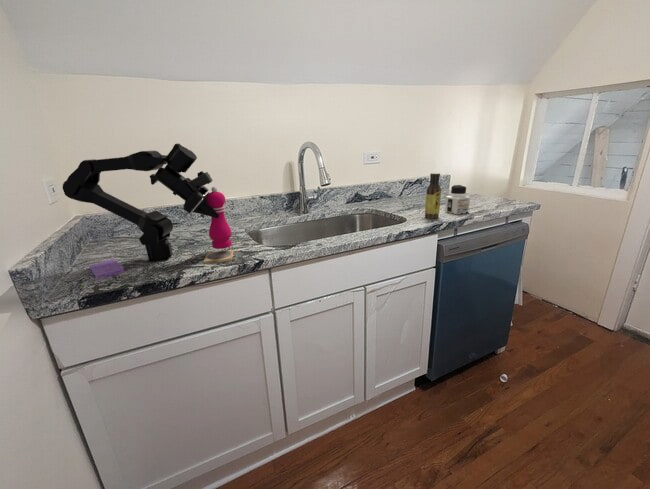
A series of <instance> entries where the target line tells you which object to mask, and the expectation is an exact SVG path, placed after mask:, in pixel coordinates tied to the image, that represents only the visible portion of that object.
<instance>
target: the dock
mask: <svg viewBox="0 0 650 489" xmlns="http://www.w3.org/2000/svg"><path fill="white" fill-rule="evenodd" d="M233 256H234V249H231V250H220V251H219V250H218V251H210V252H206V254H205V257H204V259H203V264H214V263H223V262H232V260H233Z"/></svg>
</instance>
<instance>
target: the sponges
mask: <svg viewBox="0 0 650 489" xmlns="http://www.w3.org/2000/svg"><path fill="white" fill-rule="evenodd" d="M88 267H89V269H90V271H91V272H92V274H94V276H95V278H96V280H100V279H103V278H108V277H111V276H114V275H119V274H122V273H125V268H124V267H123V266H122V265H121V264H120V263H119V262H118V261H117V260H116V259H115V258H112V259H108V260H104V261H101V262H98V263H97V262H96V263H91V264H89V265H88Z"/></svg>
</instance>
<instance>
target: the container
mask: <svg viewBox="0 0 650 489" xmlns="http://www.w3.org/2000/svg"><path fill="white" fill-rule="evenodd" d="M466 194H467V186H466V185H463V184H455V185H452V186H451V191H450V195H447V196H445V207H444V212H445V213H448V212H449V214H452V213H454V214H453V215H461V213H463V214H466V212H468V213H469V210H470V204H471V201H470V200H471V197H470V196H467V195H466Z"/></svg>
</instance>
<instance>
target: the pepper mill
mask: <svg viewBox="0 0 650 489" xmlns="http://www.w3.org/2000/svg"><path fill="white" fill-rule="evenodd" d="M206 195H207V194H206ZM206 198H207V203H208V204H209V205H210V206H211V207H212V208H213V209H214V210H215V211H216V212H217V214H218V215H219V217H218V218H214V217H211V216H210V217H211V221H210V226H209V228H208V237H209V238H210V239H211V240H212V241H211V246H212V248H213V249H214V250H215V249H216V250H223V249H227V248H230V247H231V246H232V240H231V237H232V236H233V235H232V229H231V226H230V225H229V223H228V221H227V218H226V216H225V210H226V209H225V208H226V206H225V203H226V197H225V194H224V193H222V192H220V191H218V188H217V187H216V186H213V187H211V191H210V192H209V194H208V195H207V196H206Z"/></svg>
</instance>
